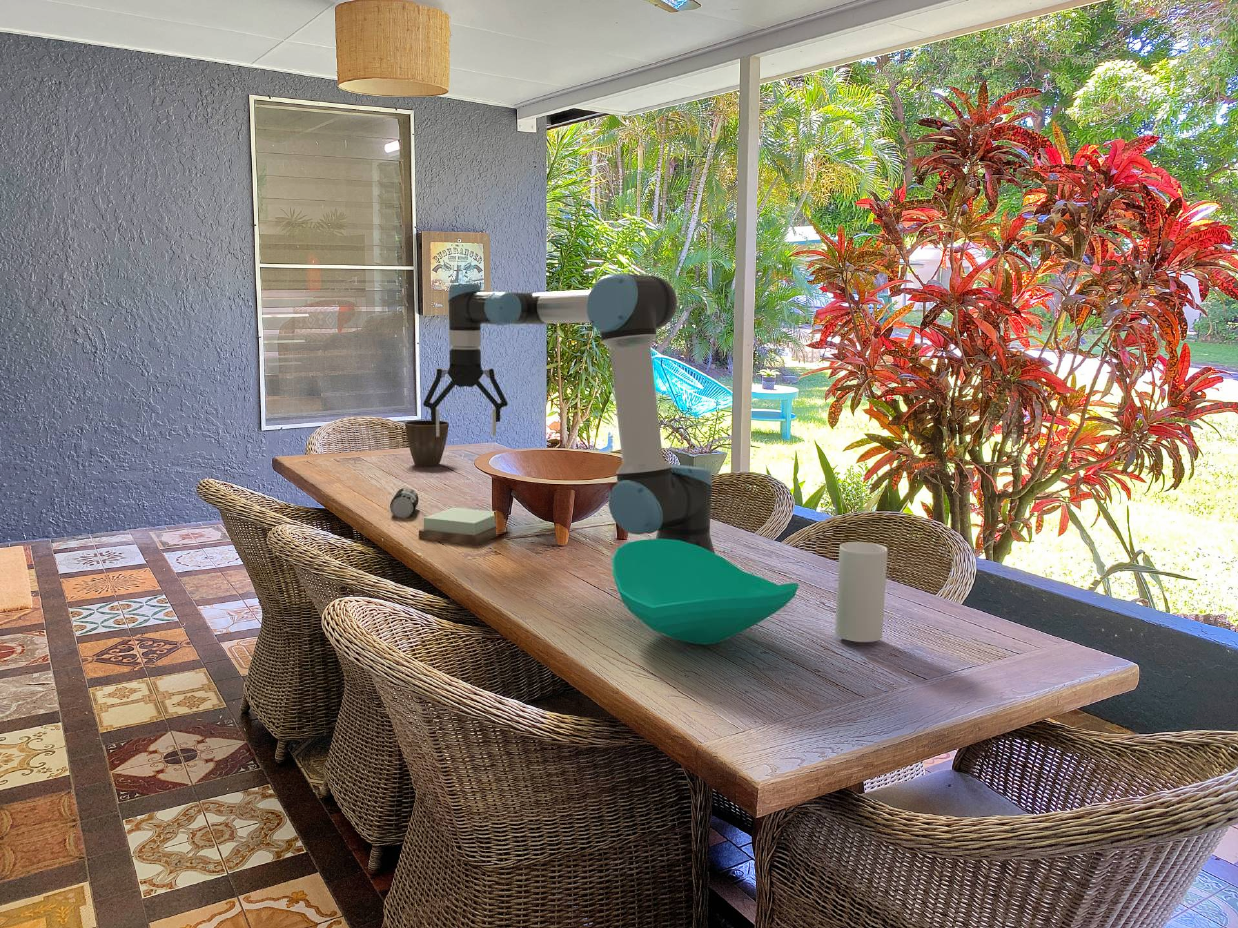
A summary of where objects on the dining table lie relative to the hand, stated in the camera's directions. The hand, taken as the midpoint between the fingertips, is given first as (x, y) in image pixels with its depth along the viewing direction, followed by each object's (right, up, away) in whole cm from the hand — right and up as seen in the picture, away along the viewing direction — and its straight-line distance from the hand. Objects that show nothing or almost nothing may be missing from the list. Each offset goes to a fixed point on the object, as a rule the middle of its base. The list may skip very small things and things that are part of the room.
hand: (466, 435), depth 239 cm
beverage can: (-21, -17, +31) cm, 41 cm away
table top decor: (+52, -38, -67) cm, 93 cm away
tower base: (-1, -25, +4) cm, 26 cm away
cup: (+80, -38, -64) cm, 110 cm away
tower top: (-1, -23, +3) cm, 23 cm away
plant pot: (-29, -9, +100) cm, 105 cm away
